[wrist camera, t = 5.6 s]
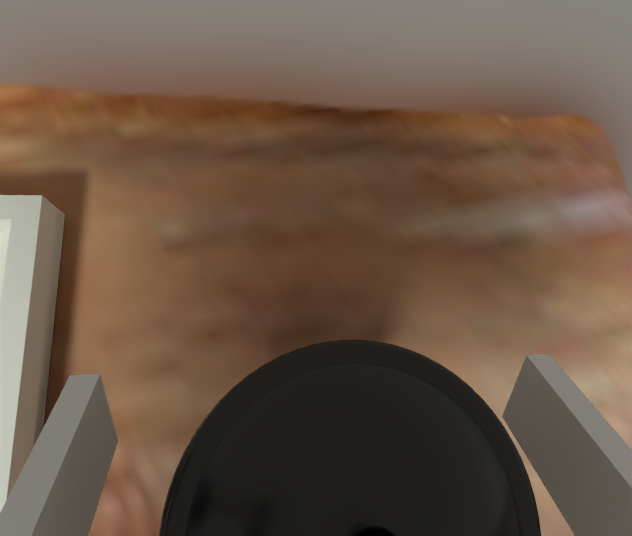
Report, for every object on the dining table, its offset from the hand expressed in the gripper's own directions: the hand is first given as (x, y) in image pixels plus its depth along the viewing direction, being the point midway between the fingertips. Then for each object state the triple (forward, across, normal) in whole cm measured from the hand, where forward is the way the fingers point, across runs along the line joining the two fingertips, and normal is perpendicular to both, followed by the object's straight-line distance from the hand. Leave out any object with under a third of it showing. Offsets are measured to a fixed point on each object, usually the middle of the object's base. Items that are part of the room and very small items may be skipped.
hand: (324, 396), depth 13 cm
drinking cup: (+5, 0, -9) cm, 10 cm away
